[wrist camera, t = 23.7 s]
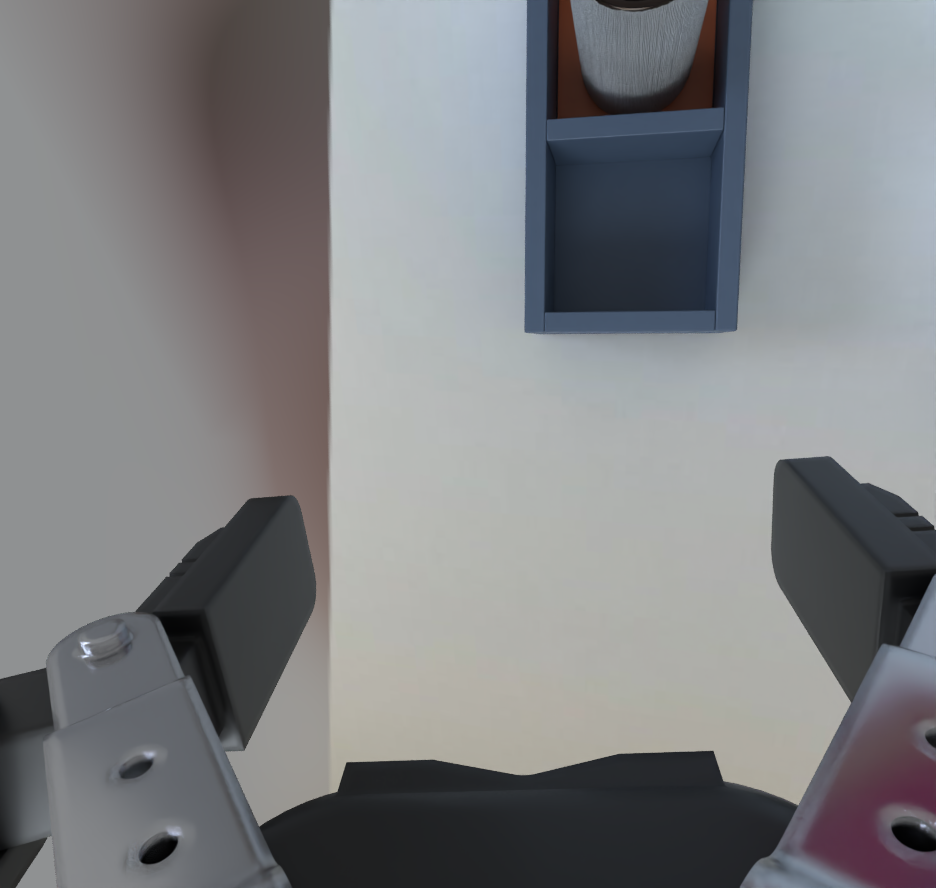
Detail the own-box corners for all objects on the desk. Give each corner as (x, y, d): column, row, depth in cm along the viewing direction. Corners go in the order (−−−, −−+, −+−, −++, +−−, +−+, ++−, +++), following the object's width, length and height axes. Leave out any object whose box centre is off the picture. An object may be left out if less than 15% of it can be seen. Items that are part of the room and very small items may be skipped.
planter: (559, 66, 31) (528, -67, 21) (641, -19, 29) (650, -205, 19) (630, 143, 30) (634, 46, 20) (716, 60, 29) (764, -87, 19)
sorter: (537, 333, 33) (524, 332, 29) (541, -25, 31) (527, -86, 27) (721, 332, 31) (736, 331, 27) (738, -47, 29) (758, -117, 25)
